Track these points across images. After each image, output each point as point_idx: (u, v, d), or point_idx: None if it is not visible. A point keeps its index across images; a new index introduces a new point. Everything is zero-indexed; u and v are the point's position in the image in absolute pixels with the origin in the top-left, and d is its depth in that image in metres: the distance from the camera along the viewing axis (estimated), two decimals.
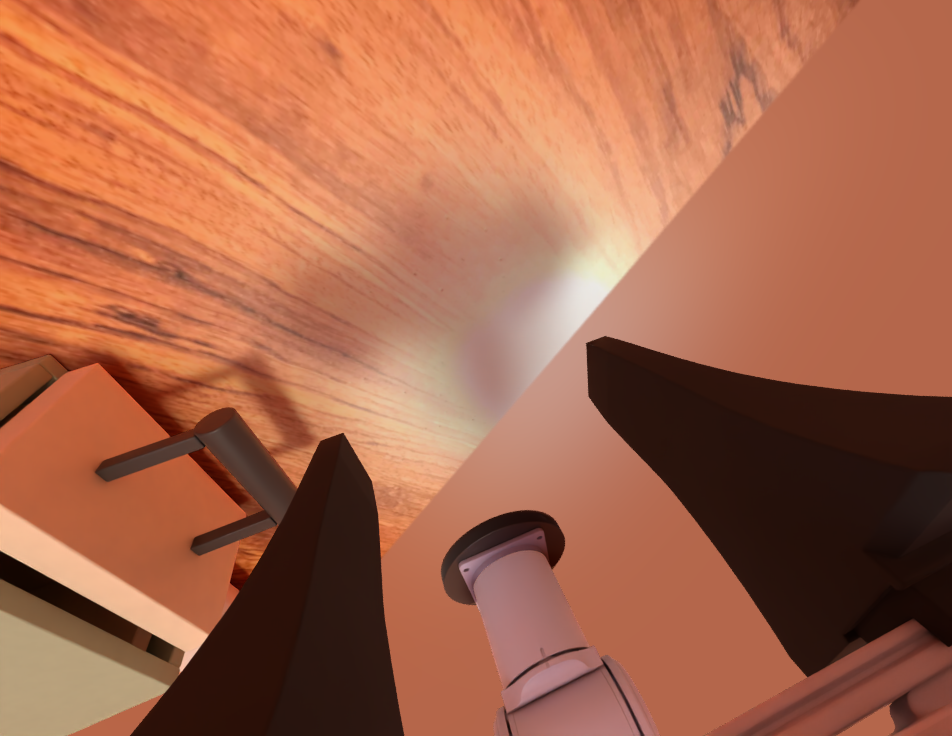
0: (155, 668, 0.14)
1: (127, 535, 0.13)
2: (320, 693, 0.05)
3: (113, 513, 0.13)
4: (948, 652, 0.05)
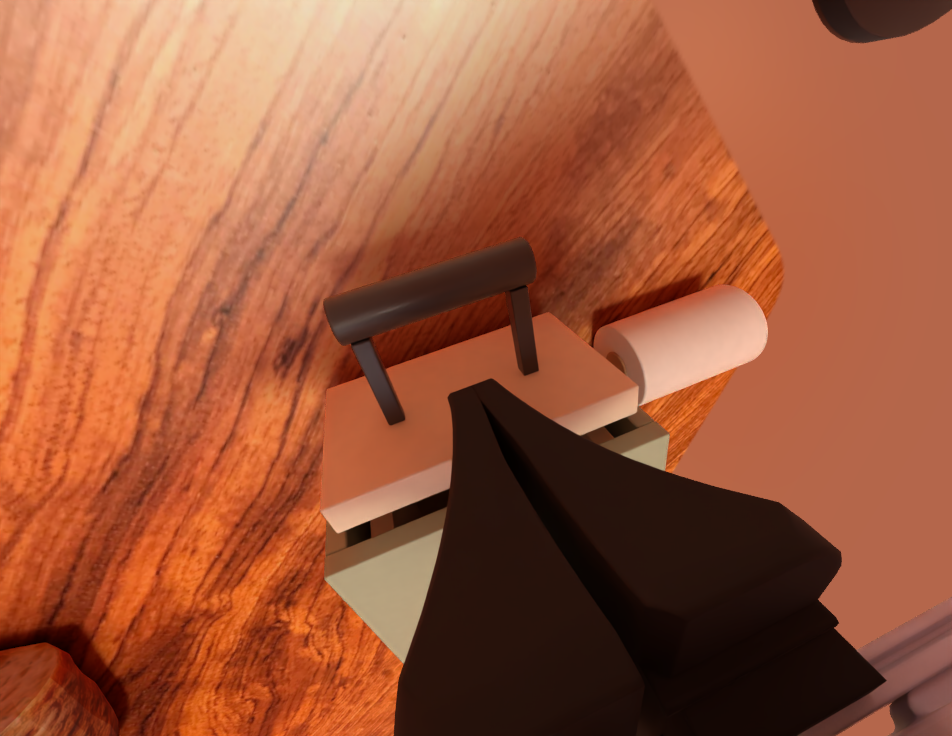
0: (629, 441, 0.12)
1: None
2: None
3: (431, 426, 0.12)
4: None
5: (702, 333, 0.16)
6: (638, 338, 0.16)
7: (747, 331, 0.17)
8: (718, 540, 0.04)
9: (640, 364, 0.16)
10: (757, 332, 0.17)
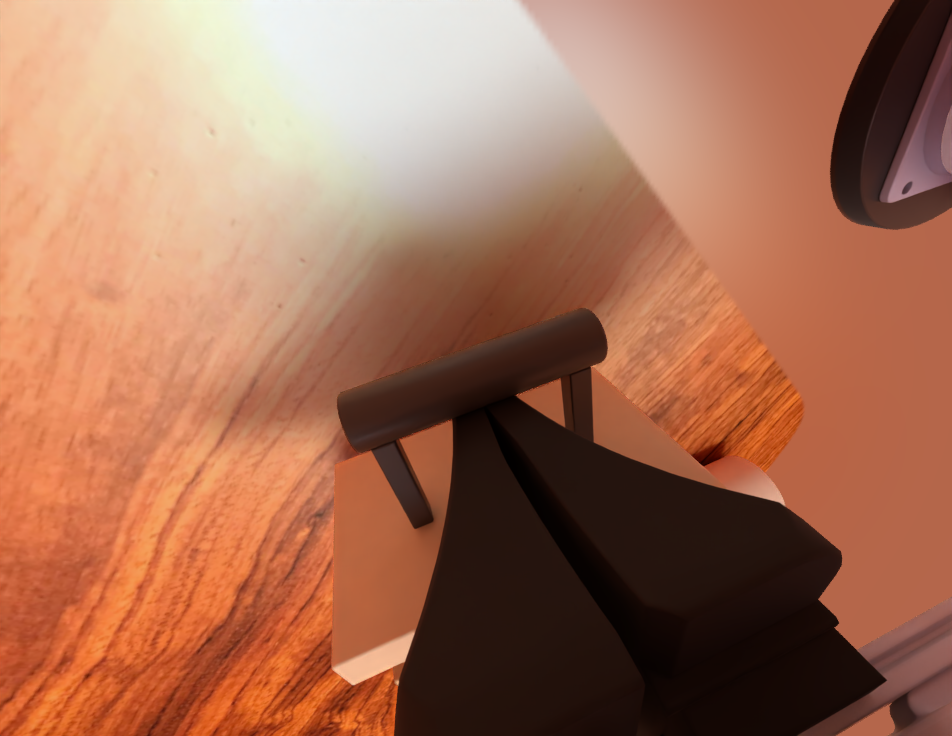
0: None
1: None
2: None
3: None
4: None
5: None
6: None
7: None
8: (718, 540, 0.04)
9: None
10: None
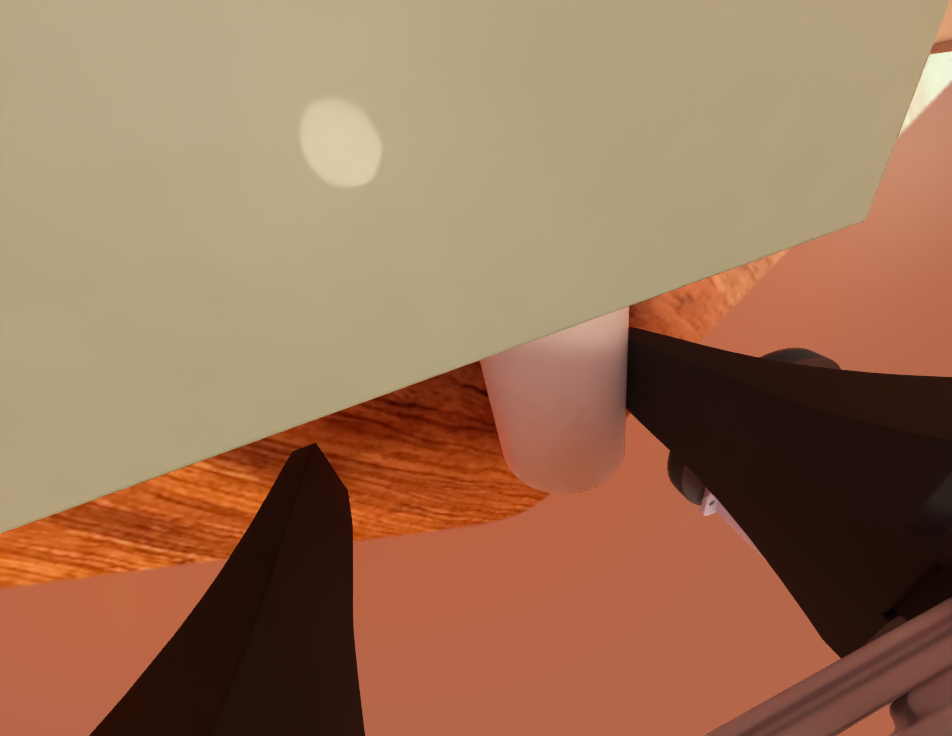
0: None
1: None
2: (265, 718, 0.05)
3: None
4: None
5: None
6: None
7: (624, 429, 0.12)
8: None
9: None
10: (624, 444, 0.12)
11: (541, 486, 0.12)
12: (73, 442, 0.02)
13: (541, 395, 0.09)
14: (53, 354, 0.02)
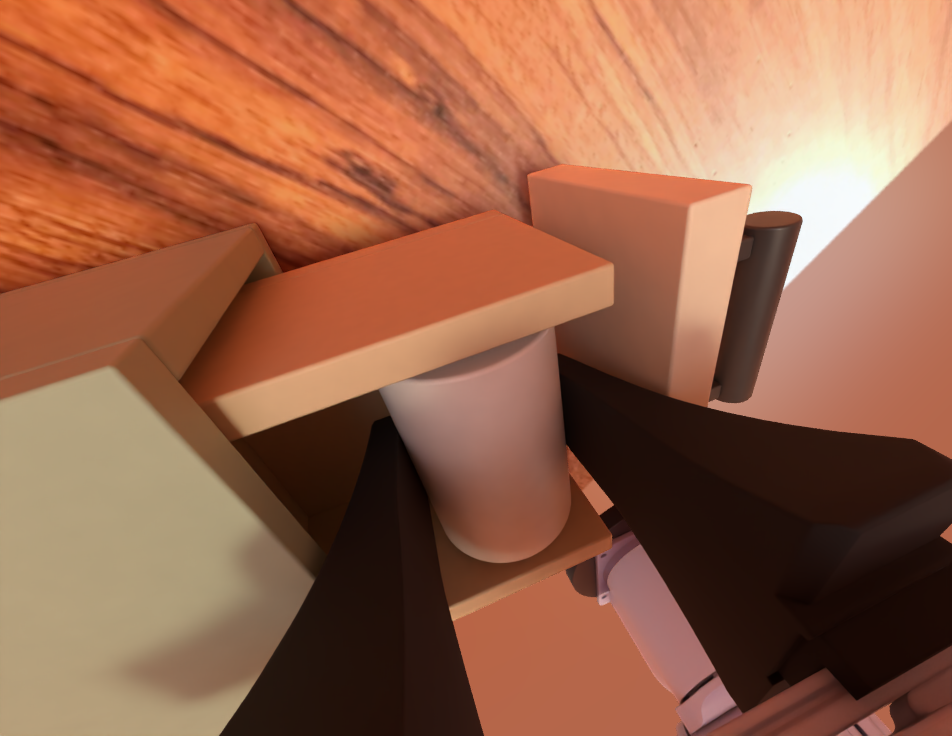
0: None
1: None
2: (423, 645, 0.05)
3: None
4: (856, 706, 0.04)
5: None
6: None
7: None
8: (864, 470, 0.04)
9: None
10: None
11: (513, 556, 0.10)
12: None
13: (505, 459, 0.08)
14: None
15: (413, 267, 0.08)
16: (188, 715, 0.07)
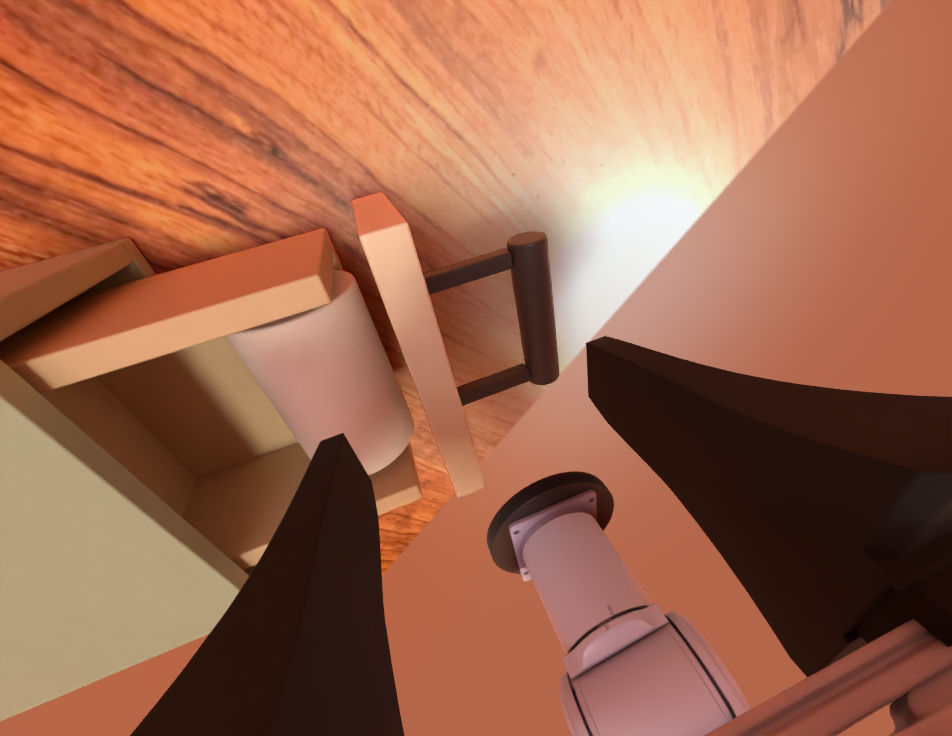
0: None
1: None
2: (320, 693, 0.05)
3: None
4: (948, 652, 0.05)
5: None
6: None
7: None
8: None
9: (343, 273, 0.13)
10: None
11: (377, 465, 0.14)
12: (37, 696, 0.12)
13: (346, 378, 0.12)
14: (32, 686, 0.11)
15: (222, 274, 0.11)
16: (40, 595, 0.10)
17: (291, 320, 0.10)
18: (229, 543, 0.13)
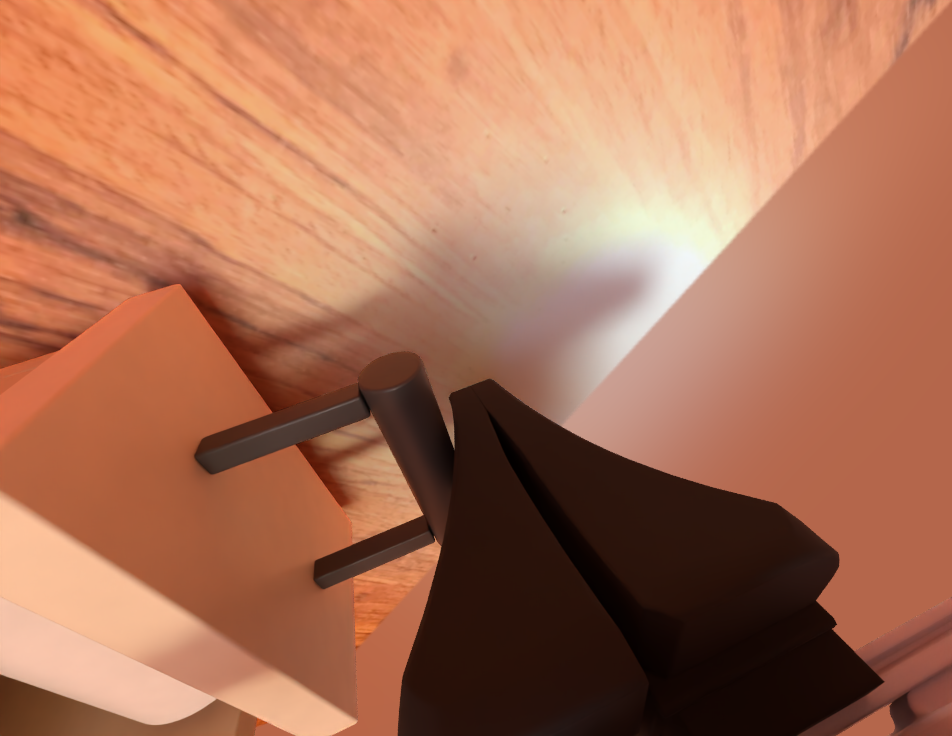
0: None
1: (246, 567, 0.07)
2: None
3: (224, 529, 0.07)
4: None
5: None
6: None
7: None
8: (716, 540, 0.04)
9: None
10: None
11: None
12: None
13: None
14: None
15: None
16: None
17: None
18: None
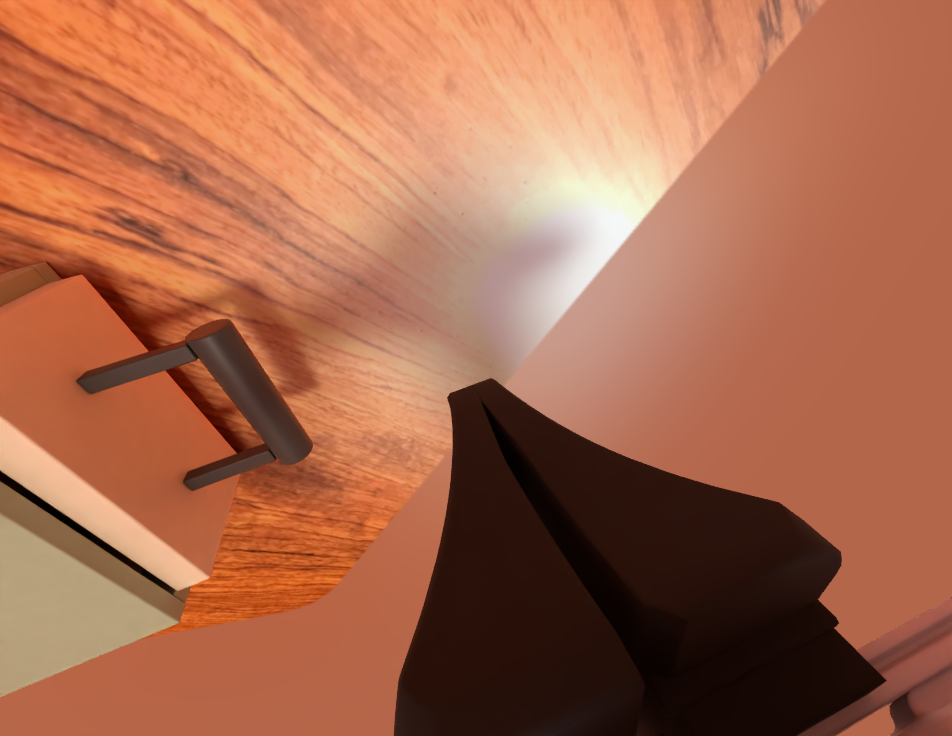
0: (159, 598, 0.13)
1: (111, 453, 0.12)
2: None
3: (96, 427, 0.11)
4: None
5: None
6: None
7: None
8: (718, 540, 0.04)
9: None
10: None
11: None
12: None
13: None
14: None
15: None
16: None
17: None
18: None
